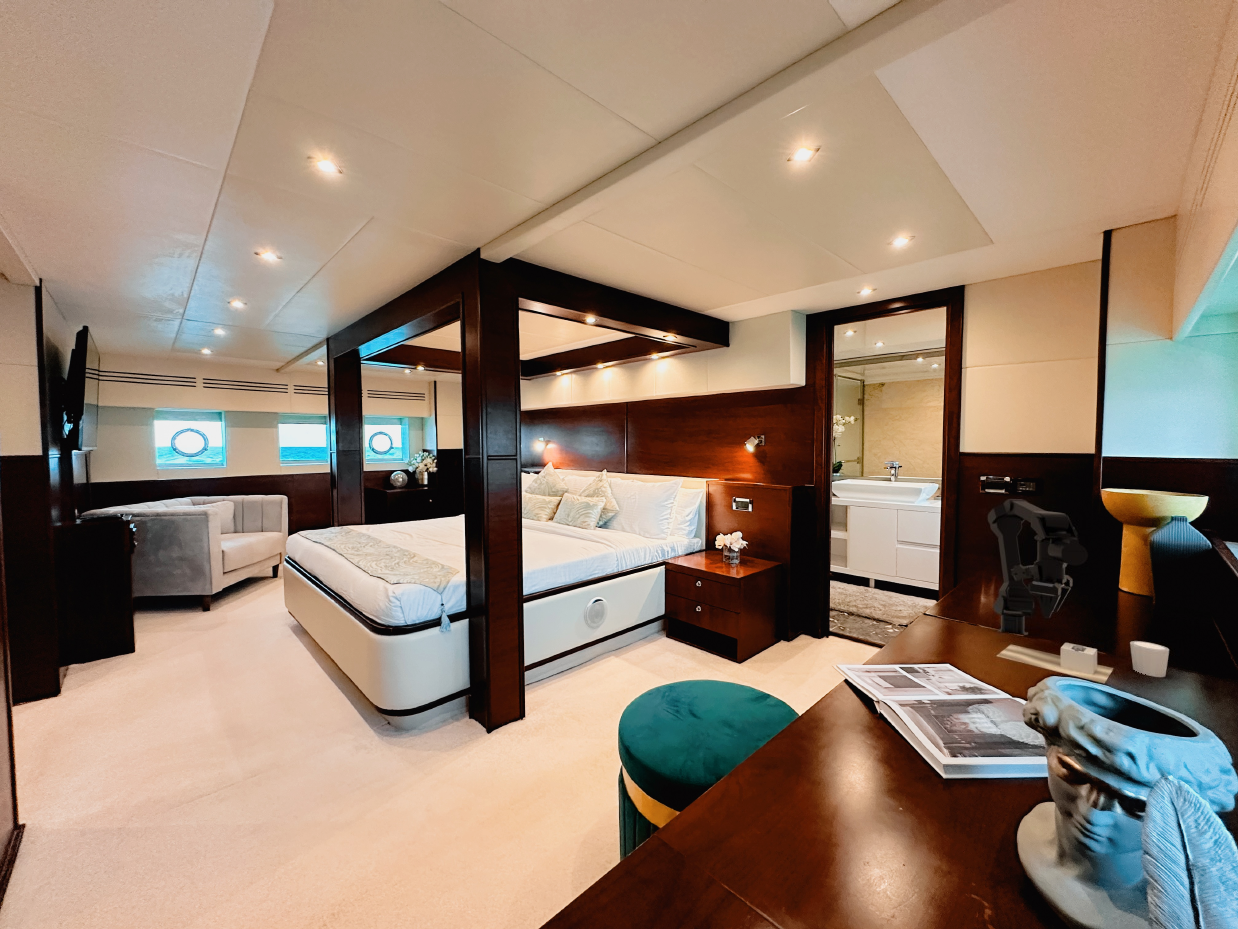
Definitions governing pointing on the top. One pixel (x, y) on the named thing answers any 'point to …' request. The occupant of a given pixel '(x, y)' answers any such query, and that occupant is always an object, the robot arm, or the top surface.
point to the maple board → (1050, 662)
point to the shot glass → (1149, 658)
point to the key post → (1079, 647)
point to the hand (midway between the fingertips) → (1050, 614)
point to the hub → (1079, 659)
